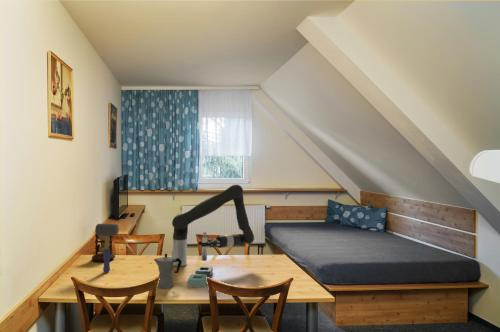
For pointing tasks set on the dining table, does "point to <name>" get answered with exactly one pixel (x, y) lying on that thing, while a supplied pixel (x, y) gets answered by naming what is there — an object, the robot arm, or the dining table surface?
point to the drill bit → (204, 249)
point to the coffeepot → (166, 271)
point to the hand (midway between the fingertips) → (200, 244)
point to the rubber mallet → (106, 240)
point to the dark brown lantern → (102, 248)
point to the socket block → (204, 271)
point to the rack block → (197, 280)
